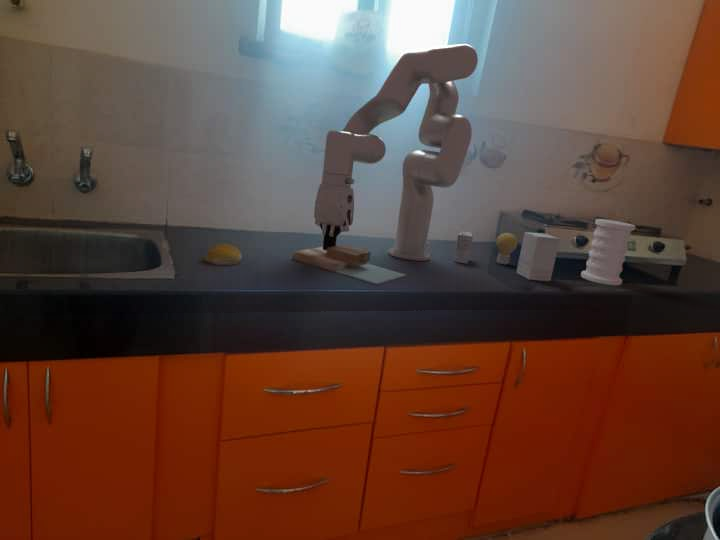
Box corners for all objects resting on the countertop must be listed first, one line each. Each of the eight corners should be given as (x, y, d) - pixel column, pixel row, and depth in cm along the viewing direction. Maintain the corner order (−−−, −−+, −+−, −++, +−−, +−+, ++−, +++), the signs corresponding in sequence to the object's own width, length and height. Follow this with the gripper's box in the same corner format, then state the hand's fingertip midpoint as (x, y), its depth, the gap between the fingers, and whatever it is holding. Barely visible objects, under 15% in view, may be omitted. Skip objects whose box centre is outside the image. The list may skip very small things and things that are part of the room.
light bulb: (499, 260, 163) (506, 230, 160) (516, 265, 158) (523, 235, 156) (488, 261, 159) (494, 231, 156) (505, 267, 154) (511, 235, 152)
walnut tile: (341, 253, 135) (342, 244, 134) (369, 261, 130) (370, 251, 130) (326, 257, 129) (327, 247, 128) (355, 265, 125) (356, 255, 124)
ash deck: (325, 253, 142) (326, 246, 142) (366, 264, 135) (366, 257, 134) (292, 258, 131) (293, 251, 130) (334, 271, 124) (335, 264, 123)
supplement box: (551, 281, 143) (561, 238, 140) (528, 280, 141) (537, 236, 138) (537, 274, 150) (546, 233, 147) (515, 272, 148) (524, 231, 145)
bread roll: (201, 264, 116) (202, 247, 115) (211, 255, 125) (212, 240, 124) (237, 268, 117) (238, 251, 116) (244, 259, 126) (245, 243, 125)
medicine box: (468, 264, 152) (473, 236, 149) (453, 262, 152) (458, 234, 150) (467, 259, 159) (472, 232, 157) (453, 256, 160) (458, 230, 158)
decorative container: (609, 277, 160) (624, 221, 155) (628, 287, 149) (644, 228, 144) (574, 272, 159) (587, 217, 155) (590, 282, 148) (605, 223, 144)
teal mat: (367, 265, 135) (367, 263, 135) (405, 276, 128) (406, 274, 128) (336, 272, 123) (336, 270, 123) (376, 284, 117) (376, 283, 117)
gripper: (368, 185, 127) (359, 254, 132) (323, 176, 135) (316, 242, 140) (351, 185, 121) (342, 258, 125) (305, 176, 129) (298, 245, 134)
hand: (328, 249), depth 133 cm, fingers closed
